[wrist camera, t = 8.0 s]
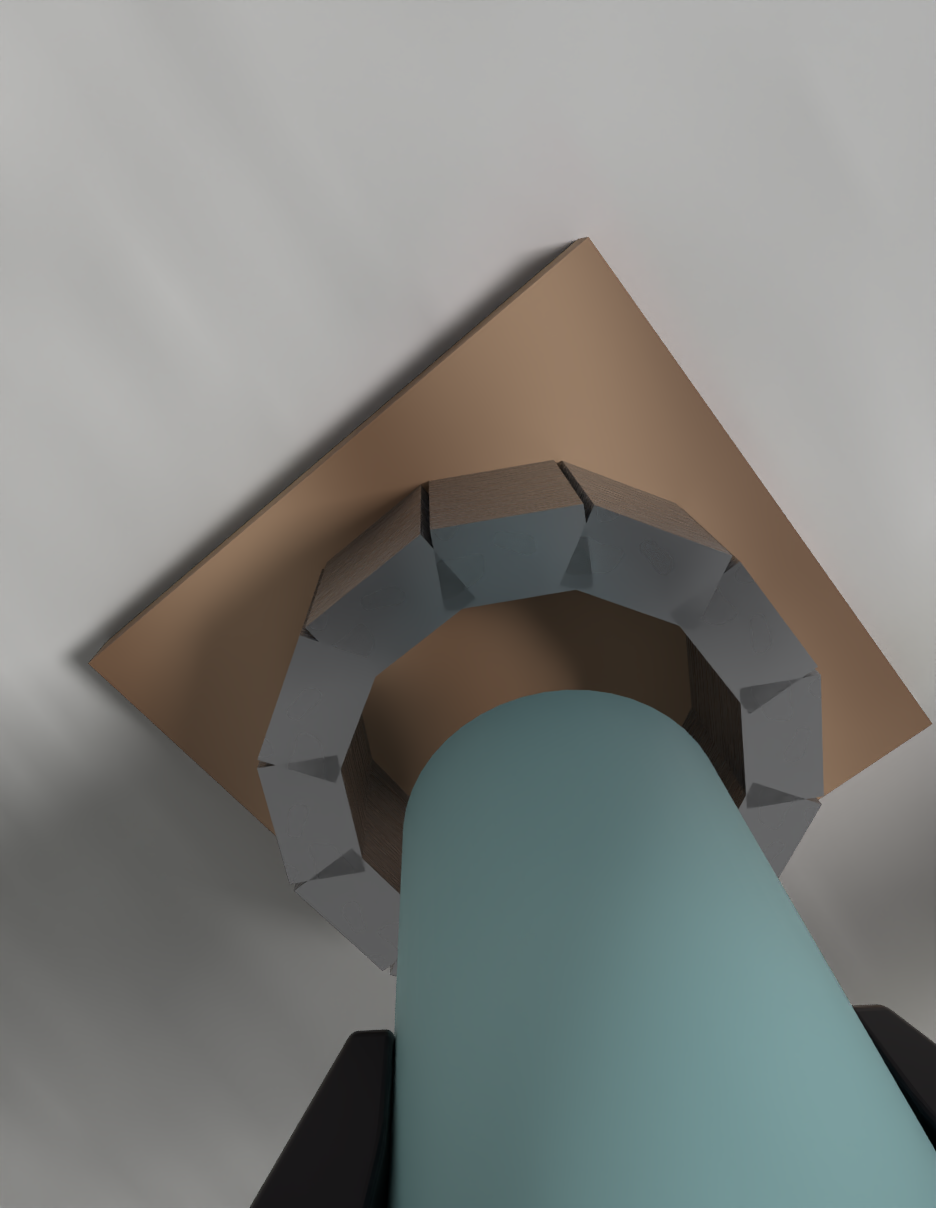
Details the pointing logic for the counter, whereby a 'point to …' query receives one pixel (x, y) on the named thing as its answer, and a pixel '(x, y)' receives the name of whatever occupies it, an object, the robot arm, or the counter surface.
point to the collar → (504, 573)
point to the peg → (619, 988)
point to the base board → (513, 628)
